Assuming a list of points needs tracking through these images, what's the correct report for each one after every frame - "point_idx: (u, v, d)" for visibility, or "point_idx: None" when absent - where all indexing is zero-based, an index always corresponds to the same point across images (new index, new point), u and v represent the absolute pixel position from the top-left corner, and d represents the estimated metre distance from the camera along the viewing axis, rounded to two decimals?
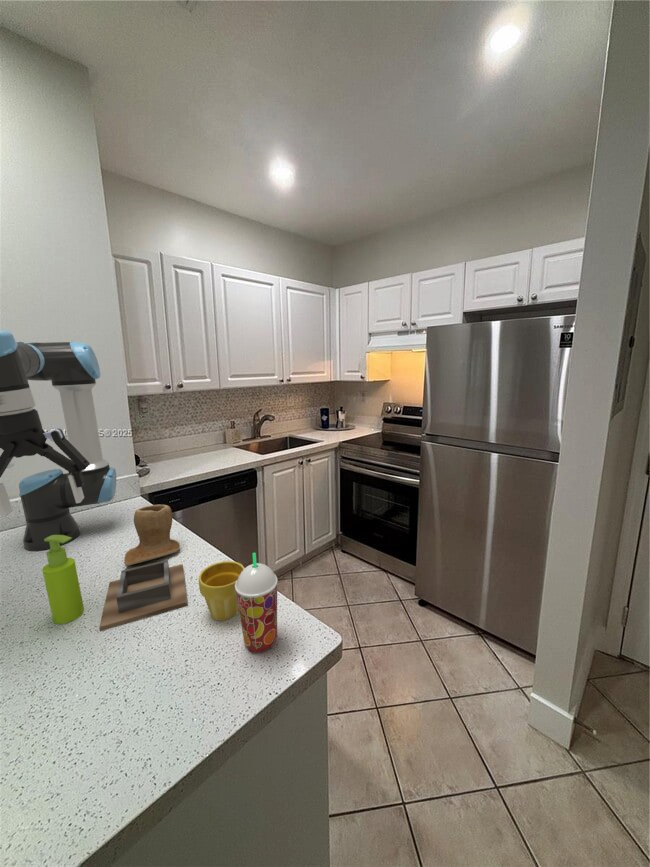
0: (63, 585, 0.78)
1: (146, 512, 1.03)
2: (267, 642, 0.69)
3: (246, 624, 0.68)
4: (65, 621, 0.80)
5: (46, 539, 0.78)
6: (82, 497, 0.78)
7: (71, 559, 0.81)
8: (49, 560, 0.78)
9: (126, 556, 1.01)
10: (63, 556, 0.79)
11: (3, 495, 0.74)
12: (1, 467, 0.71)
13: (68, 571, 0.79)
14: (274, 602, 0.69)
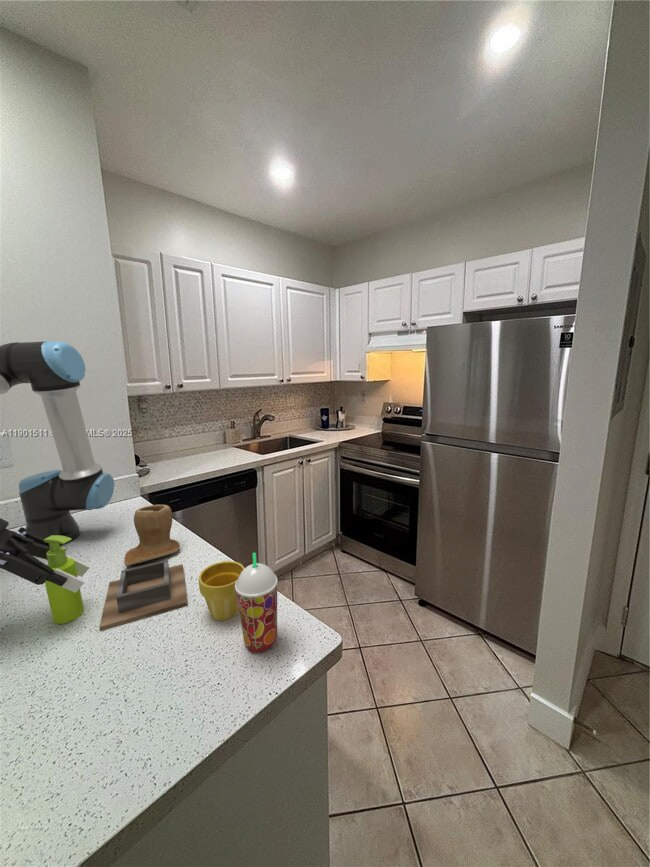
0: None
1: (146, 512, 1.03)
2: (267, 642, 0.69)
3: (246, 624, 0.68)
4: (65, 621, 0.80)
5: (46, 540, 0.77)
6: (79, 585, 0.79)
7: (71, 559, 0.81)
8: (49, 561, 0.77)
9: (126, 556, 1.01)
10: (63, 557, 0.79)
11: None
12: None
13: (68, 571, 0.79)
14: (274, 602, 0.69)
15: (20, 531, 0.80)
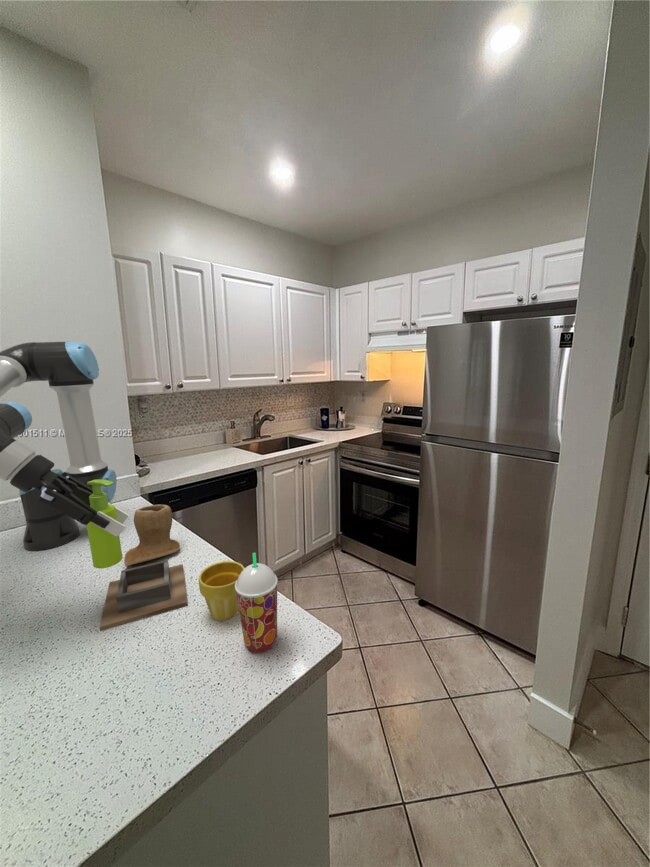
0: None
1: (146, 512, 1.03)
2: (267, 642, 0.69)
3: (246, 624, 0.68)
4: (105, 566, 0.80)
5: (89, 483, 0.78)
6: (120, 529, 0.79)
7: (112, 505, 0.82)
8: (91, 504, 0.78)
9: (126, 556, 1.01)
10: (105, 501, 0.79)
11: None
12: None
13: (110, 516, 0.79)
14: (274, 602, 0.69)
15: (63, 475, 0.81)
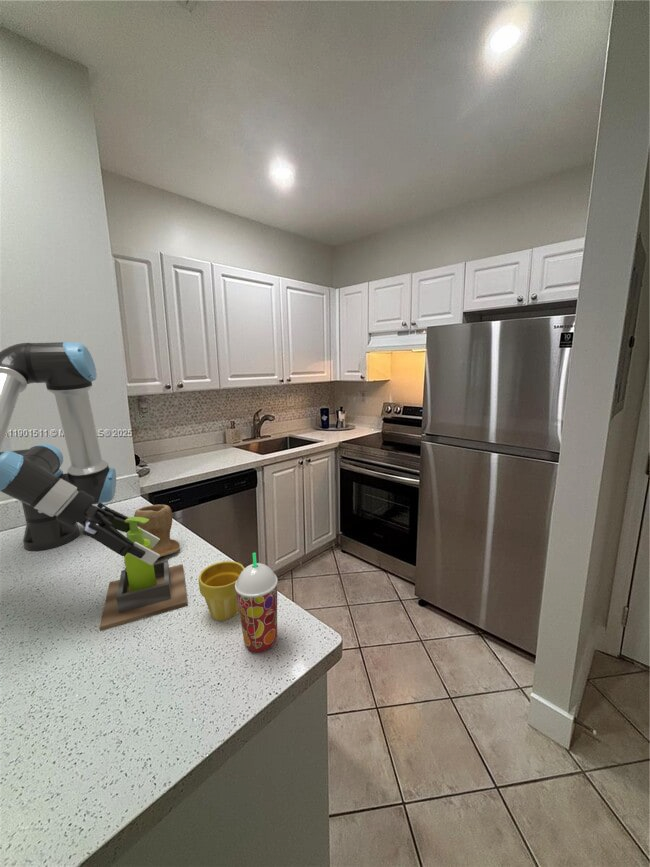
0: (142, 563, 0.84)
1: (146, 512, 1.03)
2: (267, 642, 0.69)
3: (246, 624, 0.68)
4: None
5: (126, 520, 0.83)
6: (155, 558, 0.83)
7: (146, 540, 0.87)
8: None
9: None
10: (141, 536, 0.85)
11: None
12: None
13: None
14: (274, 602, 0.69)
15: (99, 506, 0.86)
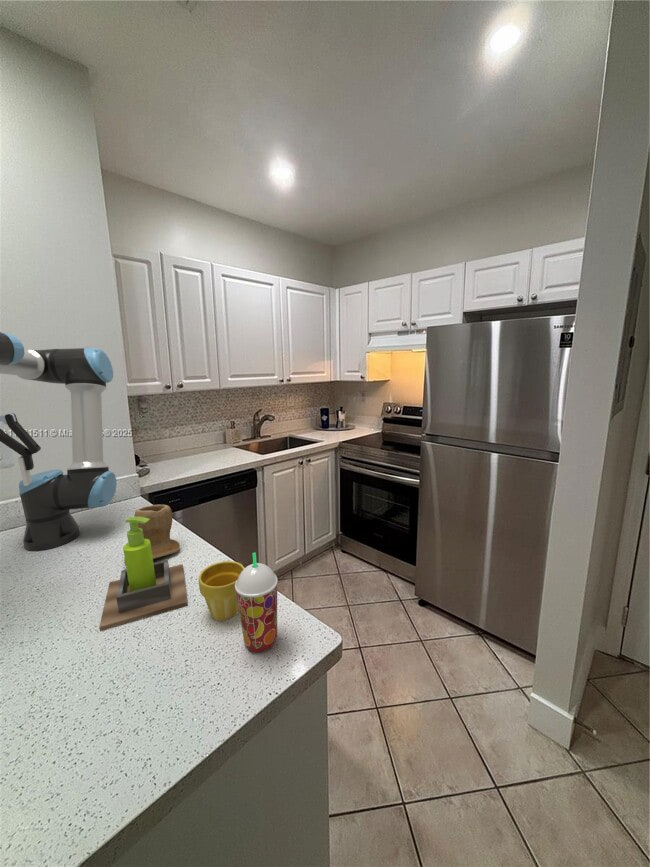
0: (142, 563, 0.84)
1: (146, 512, 1.03)
2: (267, 642, 0.69)
3: (246, 624, 0.68)
4: None
5: (127, 520, 0.84)
6: (30, 481, 0.81)
7: (147, 540, 0.87)
8: (130, 540, 0.84)
9: None
10: (141, 536, 0.85)
11: None
12: None
13: (146, 550, 0.85)
14: (274, 602, 0.69)
15: None
